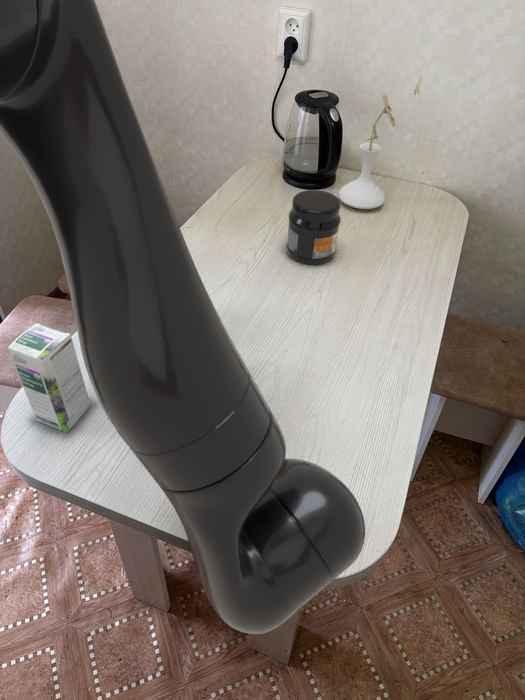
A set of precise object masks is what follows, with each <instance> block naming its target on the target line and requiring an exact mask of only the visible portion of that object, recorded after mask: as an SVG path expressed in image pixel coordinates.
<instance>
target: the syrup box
mask: <svg viewBox="0 0 525 700" xmlns="http://www.w3.org/2000/svg"><path fill="white" fill-rule="evenodd" d="M7 350H8V353H9V356H10V358H11V361H12V363H13V365H14V368H15V371H16V373H17V376H18V378H19V381H20V383H21V386H22V388H23V390H24V393H25V395H26V398H27V400H28V403H29V405H30V407H31V410H32V414H33V415H34V418H35V420H36V422H39V423H42V424H45V425H46V426H50V427H52V428H54V429H57V430H60V431H62V432H64V433H69V432H70V431H71V429H72V428H73V427H74V426H75V424H77V422H78V421H79V420H80V419H81V417H82V416H84V414H85V413H86V412H87V410H88V409H89V408H90V407H91V401H90V398H89V395H88V391H87V388H86V385H85V380H84V377H83V374H82V369H81V366H80V363H79V359H78V356H77V352H76V348H75V345H74V342H73V337H72V334H71V333H68V332H64V331H62V330H58V329H56V328H54V327H51V326H47V325H44V324H41V323H38V322H36V323H34V324H33V325H32V326H30V327H29V328H27V329H26V330H24V331H23V332H22V333H21V334H20V335H19V336H17V337H16V338H15V339H14V340H13V341H12V342H11V343H10V344H9V345H8V346H7Z"/></svg>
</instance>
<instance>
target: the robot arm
mask: <svg viewBox="0 0 525 700" xmlns="http://www.w3.org/2000/svg"><path fill="white" fill-rule="evenodd" d="M0 134H1V135H2V136H3V138H4V139H5V141H6V142H7V144H8V145H9V146H10V147H11V149H12V150H13V152H14V153H15V154H16V156H17V157H18V159H19V160H20V162H21V164H22V165H23V167H24V169H25V170H26V173H27V175H28V176H29V178H30V179H31V181H32V183H33V185H34V187H35V189H36V191H37V194H38V195H39V197H40V200H41V202H42V204H43V207H44V210H45V211H46V214H47V216H48V219H49V221H50V225H51V228H52V231H53V233H54V236H55V239H56V242H57V246H58V248H59V252H60V256H61V261H62V265H63V270H64V274H65V277H66V281H67V286H68V291H69V296H70V302H71V305H72V313H73V317H74V321H75V326H76V329H77V330H76V331H77V336H78V340H79V346H80V351H81V354H82V358H83V361H84V362H83V363H84V366H85V368H86V372H87V375H88V378H89V381H90V383H91V386H92V388H93V389H92V390H93V391H94V393H95V395H96V398H97V401H98V402H99V404H100V406H101V408H102V410H103V412H104V413H105V415H106V417H107V418H108V420H109V421H110V423H111V424H112V426H113V427H114V429H115V430H116V432H117V433H118V435H119V436H120V438H121V439H122V440H123V441H124V443H125V444H126V445H127V446H128V447H129V449H130V450H131V452H132V453H133V454H134V455H135V457H136V458H137V459H138V460H139V462H140V463H141V465H142V466H143V468H144V469H145V470H146V471H147V472H148V473H149V475H150V476H151V477H152V478H153V480H154V481H155V482H156V484H157V485H158V486H159V488H160V489H161V491H162V492H163V493H164V494H165V496H166V497H167V499H168V500H169V502H170V504H171V505H172V507H173V509H174V511H175V512H176V514H177V516H178V518H179V521H180V523H181V524H182V527H183V529H184V531H185V534H186V538H187V540H188V543H189V547H190V550H191V555H192V557H193V562H194V565H195V568H196V572H197V575H198V579H199V581H200V583H201V586H202V589H203V591H204V594H205V596H206V598H207V600H208V602H209V604H210V606H211V608H212V609H213V611H214V612H215V613H216V614H217V616H218V617H219V618H220V619H221V621H223V622H224V623H225V624H226V625H228V626H229V627H230V628H232V629H234V630H236V631H238V632H240V633H245V634H250V635H261V634H266V633H268V632H271V631H273V630H275V629H277V628H279V627H280V626H281V625H283V624H284V623H285V622H286V621H287V620H289V619H290V618H291V617H292V616H294V615H295V614H296V613H297V612H298V611H299V610H300V609H301V608H303V607H304V606H305V605H306V604H307V603H308V602H310V601H311V600H312V599H313V598H314V597H316V596H317V595H318V594H319V593H320V592H322V591H323V590H324V589H325V588H327V587H328V585H330V584H331V583H333V580H336V579H337V578H338V577H340V576H341V575H342V574H343V573H344V572H345V571H346V570H347V569H348V568H350V567H351V566H352V565H353V563H354V562H355V561H356V560H357V559H358V557H359V556H360V555H361V552H362V550H363V547H364V544H365V539H366V524H365V523H366V522H365V517H364V515H363V511H362V508H361V506H360V504H359V502H358V500H357V499H356V497H355V495H354V494H353V493H352V491H351V490H350V489H349V487H348V486H347V485H346V484H345V483H344V482H343V481H342V480H341V479H340V478H339V477H338V476H336V475H335V474H333V473H332V472H330V471H329V470H327V469H326V468H324V467H322V466H321V465H318V464H317V463H314V462H311V461H308V460H305V459H300V458H286V455H287V447H286V446H287V445H286V440H285V437H284V434H283V431H282V428H281V426H280V424H279V423H278V421H277V419H276V417H275V415H274V413H273V412H272V409H271V407H270V406H269V405H268V402H267V400H266V399H265V398H264V396H263V394H262V392H261V390H260V388H259V386H258V385H257V383H256V381H255V379H254V378H253V376H252V374H251V372H250V370H249V368H248V366H247V365H246V363H245V361H244V359H243V358H242V356H241V354H240V352H239V350H238V349H237V347H236V344H234V342H233V340H232V338H231V336H230V334H229V333H228V330H227V328H226V327H225V325H224V323H223V321H222V319H221V317H220V315H219V313H218V311H217V309H216V308H215V305H214V304H213V301H212V299H211V297H210V294H209V293H208V291H207V289H206V287H205V285H204V283H203V281H202V278H201V276H200V274H199V271H198V269H197V267H196V265H195V262H194V260H193V258H192V254H191V252H190V250H189V247H188V245H187V243H186V240H185V237H184V235H183V233H182V230H181V228H180V224H179V223H178V221H177V218H176V215H175V212H174V210H173V207H172V205H171V203H170V199H169V196H168V194H167V192H166V190H165V189H166V188H165V187H164V183H163V181H162V178H161V176H160V172H159V171H158V168H157V165H156V162H155V160H154V157H153V155H152V152H151V150H150V147H149V145H148V141H147V139H146V136H145V134H144V131H143V128H142V125H141V123H140V120H139V117H138V115H137V113H136V110H135V108H134V105H133V101H132V100H131V96H130V95H129V92H128V89H127V86H126V84H125V80H124V78H123V75H122V72H121V70H120V67H119V63H118V61H117V58H116V56H115V53H114V50H113V48H112V44H111V41H110V39H109V36H108V33H107V30H106V27H105V25H104V22H103V18H102V16H101V14H100V11H99V8H98V5H97V2H96V0H0Z"/></svg>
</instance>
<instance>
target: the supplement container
mask: <svg viewBox="0 0 525 700" xmlns="http://www.w3.org/2000/svg"><path fill="white" fill-rule="evenodd" d="M292 198H293V199H292V203H291V209H290V211H289V213H288V226H287V227H288V228H287V239H286V252H287V253H288V255H289V256H290V257H291V258H292V259H294V260H296V261H298V262H300V263H303V264H308V265H318V264H323V263H326V262H328V261H330V260H331V259H332V258H333V257H334V255H335V254H336V247H337V240H338V236H339V235H338V234H339V229H340V225H341V222H342V221H341V219H342V218H341V214H340V211H341V204H342V203H341V199H340V198H338V196H336V195H335V194H333V193H331V192H328V191H325V190H320V189H319V190H318V189H309V190H308V189H307V190H302V191H299V192H298V193H296V194H295V195H294V196H293V197H292Z"/></svg>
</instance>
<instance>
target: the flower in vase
mask: <svg viewBox="0 0 525 700" xmlns="http://www.w3.org/2000/svg"><path fill="white" fill-rule="evenodd" d="M381 95H382V96H381V97H382V102H383V105H384V107H383V110H382V111H381V113H380V114H379V115H378V117H377V118H376V120H375V122H374V124H372V130H371V135H370V138H367V141H370V142H364V143H361V144H360V145H359V148H360V150H361V153H362V167H361V172H360V174H359V176H358V177H357V178H355V179H354V180H352V181H350V182H348V183H346V184H345V185H343V186H342V187H341V188H340V190H338V197H339V200H340V202H342V203H343V204H345V205H347V206H349V207H351V208H355V209H360V210H370V209H371V210H372V209H376V208H379V207H380V206H382V205H383V204H384V203H385V199H386V197H385V193H384V192H383V191H382V188H380V186H379V185H377V184H376V183H375V182H374V180H373V179H372V169H373V165H374V162H375V160H376V158H377V156H378V154H379V153H380V152H381V151H382V150H383V148H382V146H381V145H379V144H377V143H373V140H377V139H379V138H380V136H378V135H377V134H378V133H377V129H376V125H377V123H378V122H379V120H380V119H381V117H382V116H383V115H384V114H386V115H387V118H388V120H389V122H390V124H391V126H392V127H394V128H395V126H397V123H396V119H395V117H394V115H393V113H392V106H391V104H389V98H388V94H387V92H386V90H384V91H382V92H381Z"/></svg>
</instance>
